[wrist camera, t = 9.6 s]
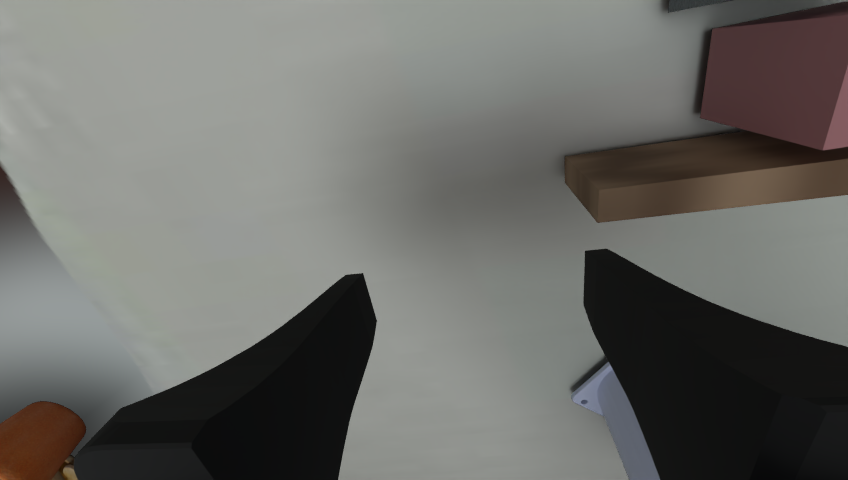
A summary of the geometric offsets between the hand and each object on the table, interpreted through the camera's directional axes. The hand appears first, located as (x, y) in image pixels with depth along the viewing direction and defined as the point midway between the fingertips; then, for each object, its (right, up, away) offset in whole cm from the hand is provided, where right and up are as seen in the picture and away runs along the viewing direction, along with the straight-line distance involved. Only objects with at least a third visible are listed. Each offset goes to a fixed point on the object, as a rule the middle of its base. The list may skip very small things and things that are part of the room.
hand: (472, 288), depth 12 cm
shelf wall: (+15, +7, +7) cm, 18 cm away
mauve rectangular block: (+15, +10, +5) cm, 18 cm away
